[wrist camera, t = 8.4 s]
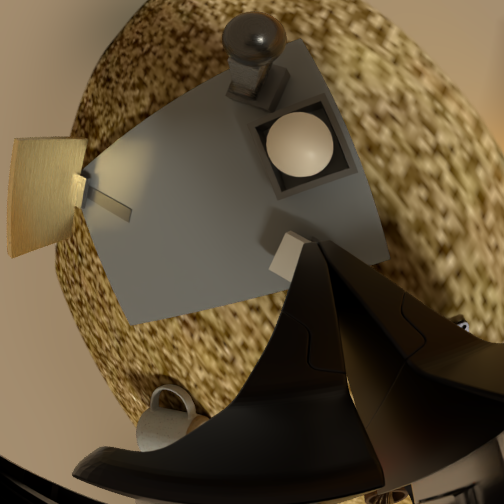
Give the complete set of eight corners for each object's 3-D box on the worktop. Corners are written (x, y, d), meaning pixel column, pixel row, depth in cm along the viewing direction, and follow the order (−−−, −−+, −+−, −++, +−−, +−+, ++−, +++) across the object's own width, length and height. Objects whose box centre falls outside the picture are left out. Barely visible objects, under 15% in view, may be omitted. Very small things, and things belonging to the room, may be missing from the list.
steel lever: (274, 68, 14) (303, 11, 6) (258, 103, 15) (273, 73, 7) (241, 56, 14) (238, -10, 6) (224, 91, 15) (206, 51, 7)
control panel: (385, 249, 19) (395, 268, 15) (144, 315, 28) (119, 334, 24) (305, 52, 17) (296, 26, 13) (89, 176, 25) (59, 180, 21)
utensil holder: (402, 435, 23) (405, 522, 12) (415, 456, 23) (417, 531, 12) (357, 451, 25) (347, 534, 14) (374, 470, 26) (367, 542, 15)
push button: (342, 164, 15) (343, 163, 14) (286, 184, 16) (280, 186, 15) (319, 109, 15) (316, 102, 13) (263, 131, 16) (256, 127, 14)
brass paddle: (99, 141, 20) (23, 143, 13) (80, 240, 24) (16, 264, 17) (81, 134, 21) (10, 136, 14) (65, 228, 25) (3, 248, 17)
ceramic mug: (227, 439, 31) (204, 482, 23) (178, 432, 33) (152, 468, 26) (198, 382, 29) (163, 427, 22) (146, 378, 32) (111, 413, 25)
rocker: (352, 264, 16) (350, 268, 15) (332, 298, 17) (329, 304, 16) (290, 230, 17) (285, 232, 17) (274, 265, 18) (268, 269, 18)
